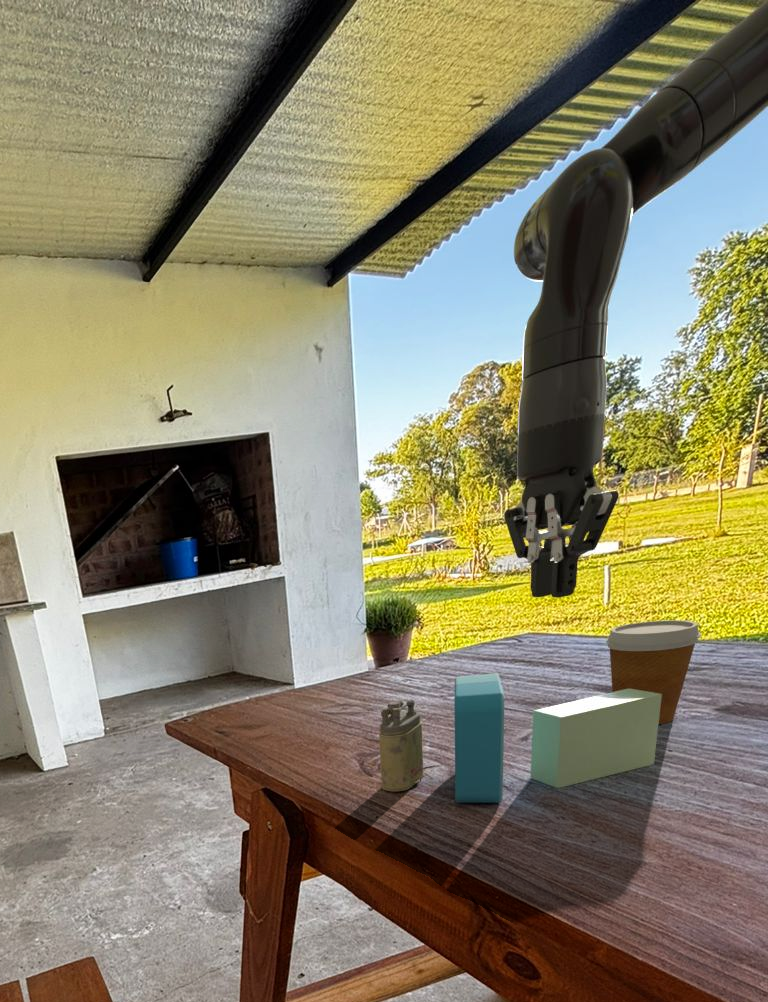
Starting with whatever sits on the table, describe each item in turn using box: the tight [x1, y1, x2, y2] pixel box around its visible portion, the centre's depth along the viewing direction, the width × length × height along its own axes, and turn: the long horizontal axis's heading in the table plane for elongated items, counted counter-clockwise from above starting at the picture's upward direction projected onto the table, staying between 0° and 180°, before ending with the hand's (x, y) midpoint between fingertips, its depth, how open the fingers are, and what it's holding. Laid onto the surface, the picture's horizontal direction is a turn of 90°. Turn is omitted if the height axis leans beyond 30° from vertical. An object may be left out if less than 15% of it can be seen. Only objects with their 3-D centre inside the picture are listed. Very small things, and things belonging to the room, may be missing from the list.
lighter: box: [378, 699, 425, 792], centre depth 74 cm, size 7×4×10 cm, turn 137°
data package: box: [453, 672, 505, 804], centre depth 68 cm, size 12×4×12 cm, turn 156°
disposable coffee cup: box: [605, 619, 702, 725], centre depth 79 cm, size 10×10×12 cm
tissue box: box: [530, 689, 662, 789], centre depth 68 cm, size 12×4×8 cm, turn 101°
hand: (551, 595), depth 69 cm, fingers closed
